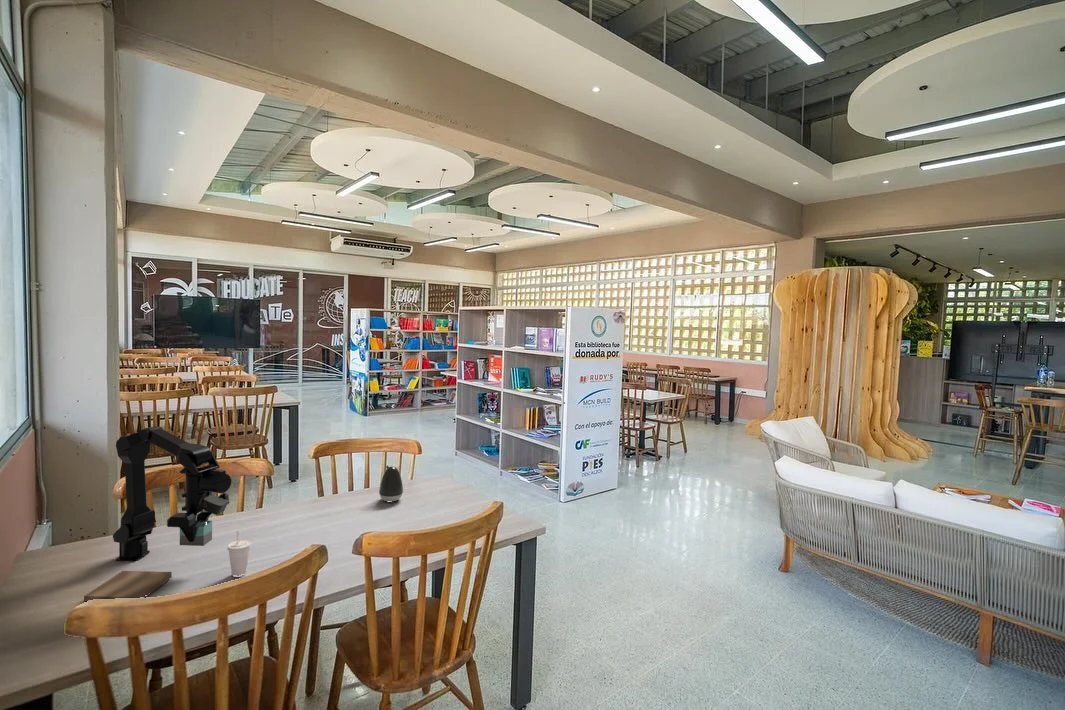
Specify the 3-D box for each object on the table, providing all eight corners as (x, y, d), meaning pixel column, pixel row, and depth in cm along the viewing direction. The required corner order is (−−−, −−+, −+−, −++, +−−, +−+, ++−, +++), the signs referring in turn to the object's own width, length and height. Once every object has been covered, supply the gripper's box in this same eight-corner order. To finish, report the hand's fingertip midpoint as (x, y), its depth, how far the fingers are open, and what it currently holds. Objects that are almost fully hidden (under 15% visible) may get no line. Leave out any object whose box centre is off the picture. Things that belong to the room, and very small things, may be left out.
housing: (179, 545, 155) (179, 524, 155) (188, 538, 160) (188, 518, 159) (203, 545, 155) (203, 525, 155) (212, 539, 160) (212, 519, 160)
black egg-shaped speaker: (396, 495, 234) (397, 462, 233) (406, 501, 226) (408, 467, 225) (374, 499, 227) (375, 465, 226) (384, 506, 219) (385, 471, 218)
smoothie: (224, 574, 157) (224, 529, 156) (247, 567, 161) (248, 524, 161) (230, 582, 152) (230, 536, 152) (253, 575, 157) (254, 531, 156)
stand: (83, 603, 138) (83, 596, 138) (122, 577, 152) (122, 570, 152) (138, 604, 139) (138, 597, 139) (171, 578, 153) (171, 571, 153)
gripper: (206, 500, 148) (205, 552, 149) (239, 479, 166) (238, 526, 167) (165, 498, 147) (165, 551, 148) (203, 478, 166) (203, 525, 167)
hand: (196, 538), depth 157 cm, fingers closed on housing, 4 cm apart
